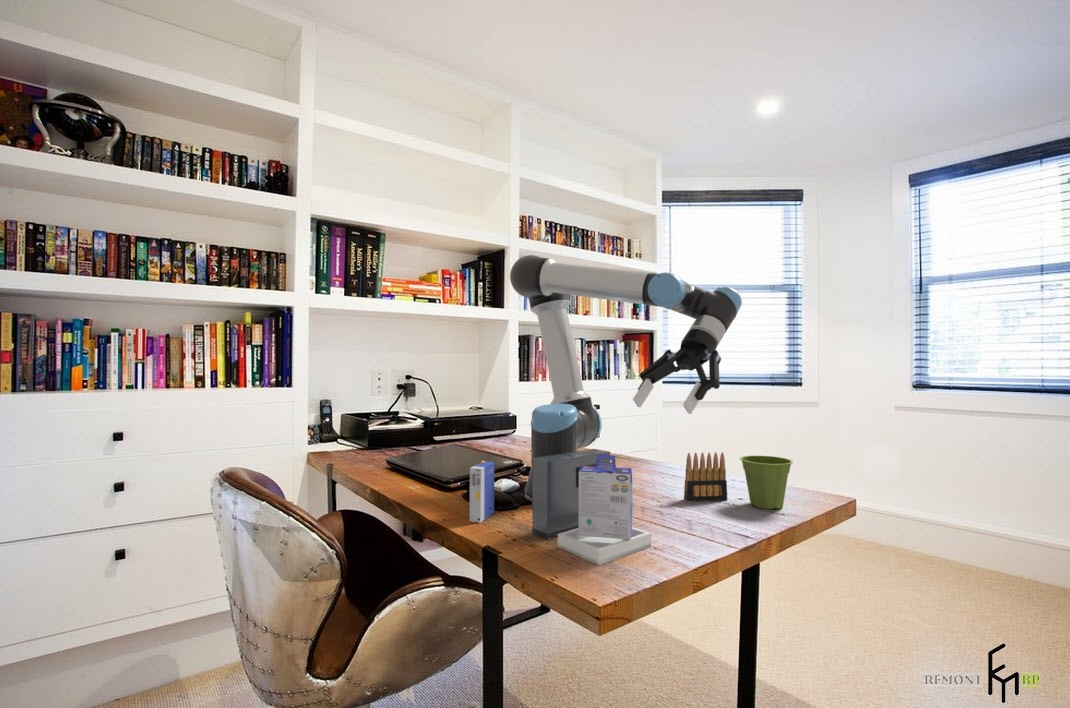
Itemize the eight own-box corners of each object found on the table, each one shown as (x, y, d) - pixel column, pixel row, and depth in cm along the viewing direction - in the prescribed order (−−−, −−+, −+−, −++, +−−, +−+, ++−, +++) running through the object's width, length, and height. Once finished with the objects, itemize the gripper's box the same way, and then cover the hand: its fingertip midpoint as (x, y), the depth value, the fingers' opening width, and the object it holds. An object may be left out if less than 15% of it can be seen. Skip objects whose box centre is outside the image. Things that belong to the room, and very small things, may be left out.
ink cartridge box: (632, 530, 97) (632, 455, 98) (632, 541, 92) (632, 460, 92) (580, 527, 99) (581, 452, 100) (577, 537, 94) (578, 458, 94)
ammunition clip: (724, 498, 130) (724, 451, 130) (727, 500, 128) (727, 452, 128) (683, 499, 129) (683, 452, 129) (686, 501, 127) (686, 453, 127)
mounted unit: (530, 532, 103) (531, 457, 104) (593, 516, 115) (593, 448, 115) (548, 540, 99) (548, 462, 99) (611, 522, 111) (611, 451, 111)
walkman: (483, 511, 118) (483, 459, 118) (494, 512, 117) (494, 460, 117) (468, 522, 110) (468, 466, 110) (480, 523, 109) (480, 467, 110)
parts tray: (557, 547, 95) (557, 534, 95) (609, 531, 104) (609, 519, 104) (598, 565, 87) (598, 550, 87) (651, 546, 96) (651, 533, 96)
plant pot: (786, 500, 128) (786, 455, 128) (799, 514, 117) (799, 465, 117) (736, 497, 131) (736, 453, 131) (744, 511, 119) (744, 462, 119)
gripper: (758, 351, 112) (718, 424, 103) (666, 349, 132) (625, 411, 122) (746, 326, 109) (703, 399, 99) (653, 328, 128) (610, 390, 119)
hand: (660, 406), depth 111 cm, fingers open, 13 cm apart
